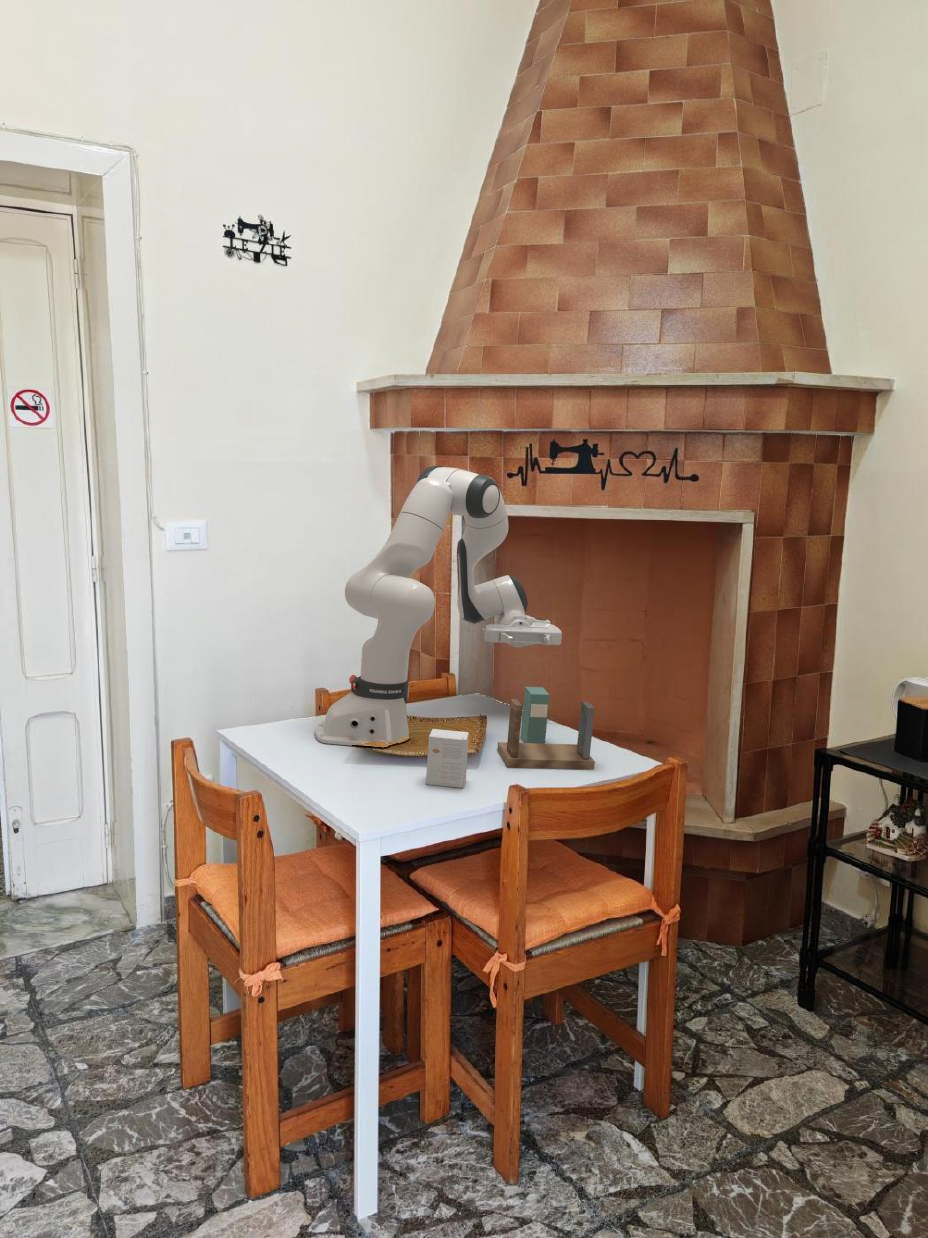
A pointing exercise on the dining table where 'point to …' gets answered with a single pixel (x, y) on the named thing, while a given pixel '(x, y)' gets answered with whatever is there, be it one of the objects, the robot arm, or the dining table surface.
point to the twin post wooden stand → (537, 749)
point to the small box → (447, 758)
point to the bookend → (585, 730)
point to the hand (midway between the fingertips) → (528, 641)
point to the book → (534, 715)
